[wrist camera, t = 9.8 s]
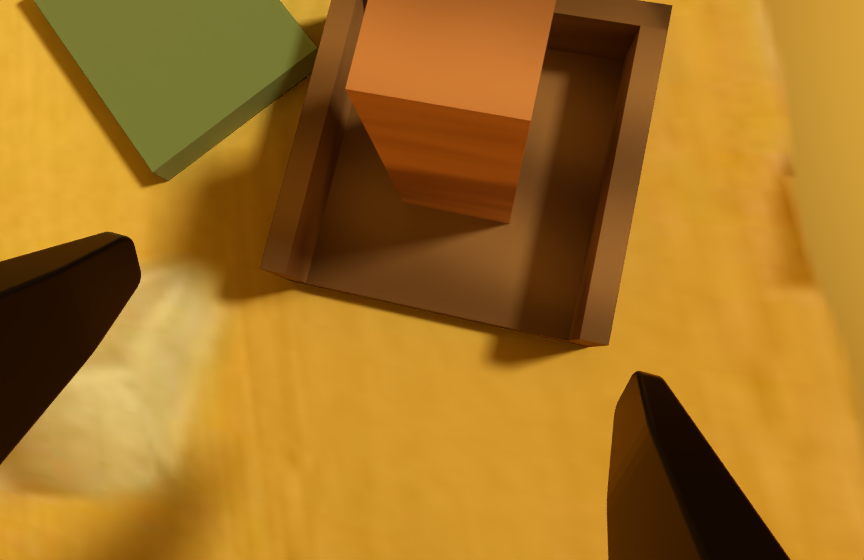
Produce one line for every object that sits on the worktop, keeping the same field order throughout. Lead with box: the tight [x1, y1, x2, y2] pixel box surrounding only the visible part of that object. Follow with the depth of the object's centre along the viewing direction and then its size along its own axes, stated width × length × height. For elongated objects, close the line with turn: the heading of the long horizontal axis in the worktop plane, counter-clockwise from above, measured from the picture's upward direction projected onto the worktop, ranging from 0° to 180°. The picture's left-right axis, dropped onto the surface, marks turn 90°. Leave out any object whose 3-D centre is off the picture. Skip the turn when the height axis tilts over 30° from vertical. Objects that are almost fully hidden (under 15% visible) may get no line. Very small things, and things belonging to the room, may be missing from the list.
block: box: [345, 0, 556, 224], centre depth 18 cm, size 4×4×10 cm
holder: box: [260, 0, 672, 347], centre depth 22 cm, size 13×13×3 cm
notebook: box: [34, 0, 318, 181], centre depth 25 cm, size 12×9×1 cm
